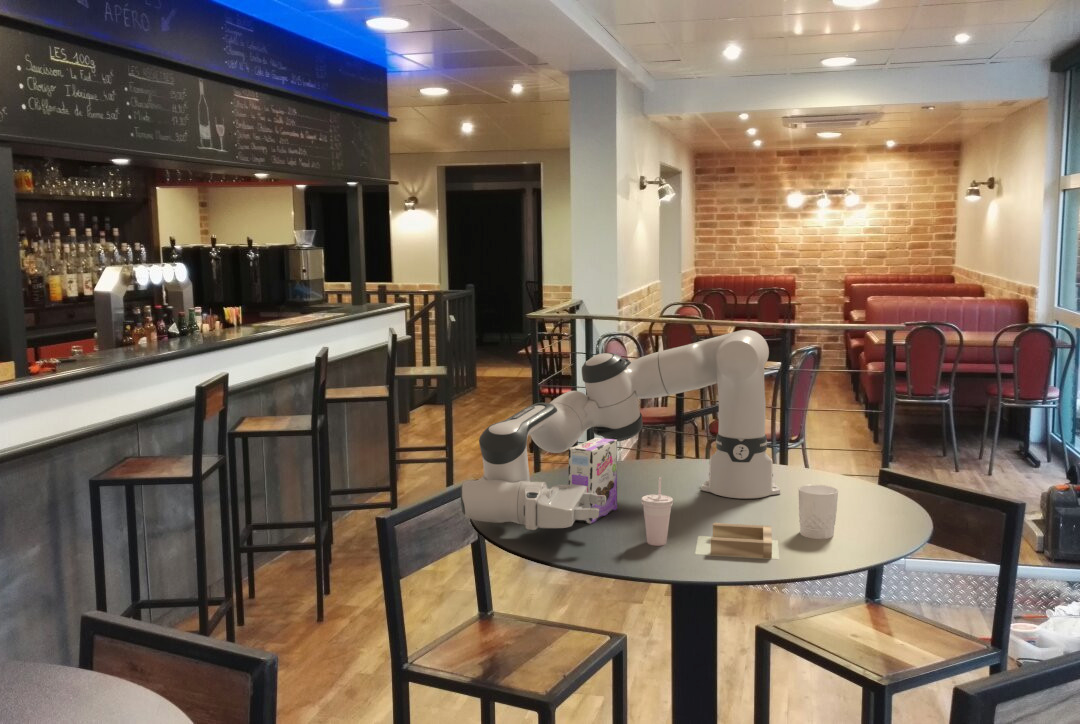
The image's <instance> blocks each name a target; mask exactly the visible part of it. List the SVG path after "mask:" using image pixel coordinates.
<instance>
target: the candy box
mask: <svg viewBox="0 0 1080 724" xmlns="http://www.w3.org/2000/svg"><path fill="white" fill-rule="evenodd" d="M568 485H583V486H586V487H587V493H593V494H596V495H604V496H606V503H605V505H597V504H592V503H590V504H585V505H584V506H583V508H591V507H593V508H599V516H598V518H587V519H582V520H575V521H574V522H578V521H579V523H584V522H585V524H593V523H595V522H596V521H598V520H600V519H602V518H603V516H604V517H605V516H607V515H609V514H610V513H612V512H614V511H616V510H617V509H618V441H617V440H615V439H605V438H604V437H594V438H592V439H590V440H586V441H585V442H582V443H579V444H578V445H575V446H574V445H573V446H572V447H571V448H569V449H568ZM608 513H609V514H608ZM601 517H602V518H601Z"/></svg>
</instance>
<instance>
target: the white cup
mask: <svg viewBox="0 0 1080 724" xmlns="http://www.w3.org/2000/svg"><path fill="white" fill-rule="evenodd" d="M838 497H839V489H837V488H835V487H833V486H829V485H824V484H823V485H822V484H805V485H801V486H799V487H798V518H799V519H798V520H799V533H800V535H801V536H803V537H805V538H808V539H815V540H826V539H831V538H833V537H834V535H835V526H836V522H837V521H836V520H837V511H838V509H837V508H838V500H839V499H838Z"/></svg>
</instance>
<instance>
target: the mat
mask: <svg viewBox="0 0 1080 724" xmlns="http://www.w3.org/2000/svg"><path fill="white" fill-rule="evenodd" d="M711 537H712V536H706V535H698V536H697V541H696V546H695V551H694V555H695V556H696V555H697V556H698V555H699V556H714V557H723V556H722V555H711ZM729 557H734V558H740V557H739V556H728V558H729ZM745 558H749V559H756V558H755V557H745ZM761 559H762V560H763V559H766V560H780V552H779V541H778V539H776V540H775V539H772V558H761Z"/></svg>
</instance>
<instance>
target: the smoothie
mask: <svg viewBox="0 0 1080 724" xmlns="http://www.w3.org/2000/svg"><path fill="white" fill-rule="evenodd" d="M657 483H658V487H657V489H658V491H657V492H658V494H647V495H644V496H642V497H641V502H640V504H641V505H642V508H643V516H644V517H643V518H644V524H645V535H646V541H647V544H648V545H651V546H657V547H659V546H664V545H667V540H668V533H669V525H670V519H671V518H670V516H671V510H672V506H673V505H674V499H673V498H672V497H671V496H669V495H665V494H662V477H658V481H657Z"/></svg>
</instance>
